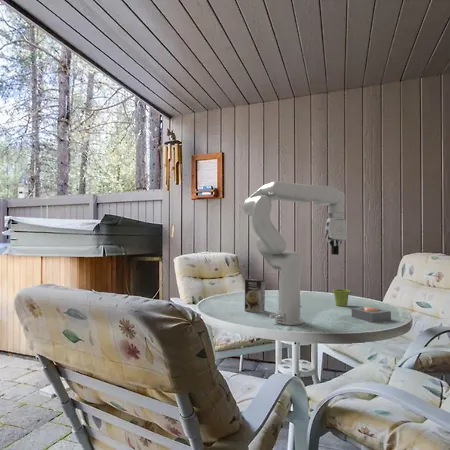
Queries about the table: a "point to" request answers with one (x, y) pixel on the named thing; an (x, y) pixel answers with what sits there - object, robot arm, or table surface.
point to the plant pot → (341, 297)
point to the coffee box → (255, 295)
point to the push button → (371, 309)
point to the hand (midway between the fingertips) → (334, 254)
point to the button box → (371, 315)
